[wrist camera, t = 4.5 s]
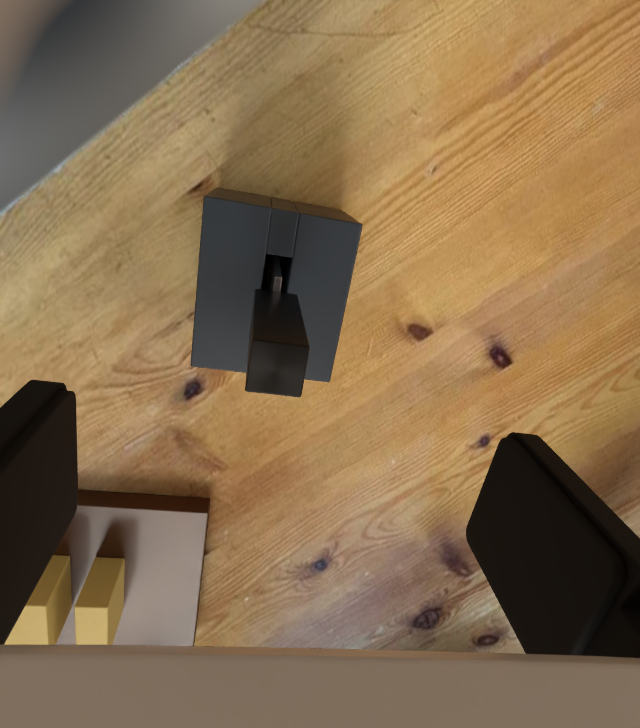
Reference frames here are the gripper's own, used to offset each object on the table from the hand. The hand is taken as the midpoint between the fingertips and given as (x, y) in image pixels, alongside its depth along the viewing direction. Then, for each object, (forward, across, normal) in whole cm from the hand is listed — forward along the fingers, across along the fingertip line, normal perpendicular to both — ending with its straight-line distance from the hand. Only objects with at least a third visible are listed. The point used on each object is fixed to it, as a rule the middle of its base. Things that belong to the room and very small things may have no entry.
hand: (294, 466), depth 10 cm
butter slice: (+17, +9, +24) cm, 31 cm away
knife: (+19, 0, 0) cm, 19 cm away
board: (+19, +12, +24) cm, 33 cm away
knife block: (+19, 0, 0) cm, 19 cm away
